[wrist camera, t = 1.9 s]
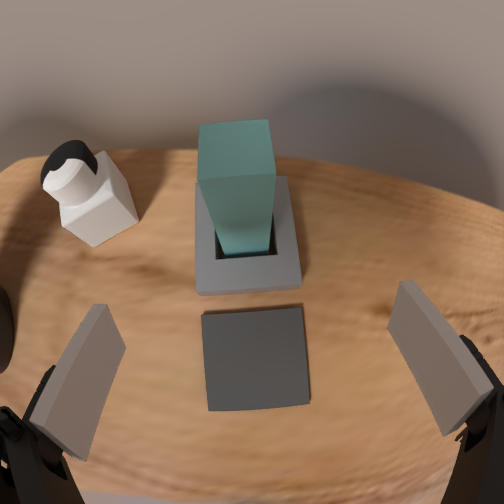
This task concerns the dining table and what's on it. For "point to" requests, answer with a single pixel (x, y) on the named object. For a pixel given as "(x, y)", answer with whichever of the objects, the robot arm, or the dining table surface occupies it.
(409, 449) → the dining table surface
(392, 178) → the dining table surface
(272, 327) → the mat
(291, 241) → the socket block
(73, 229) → the medicine bottle
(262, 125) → the plug
